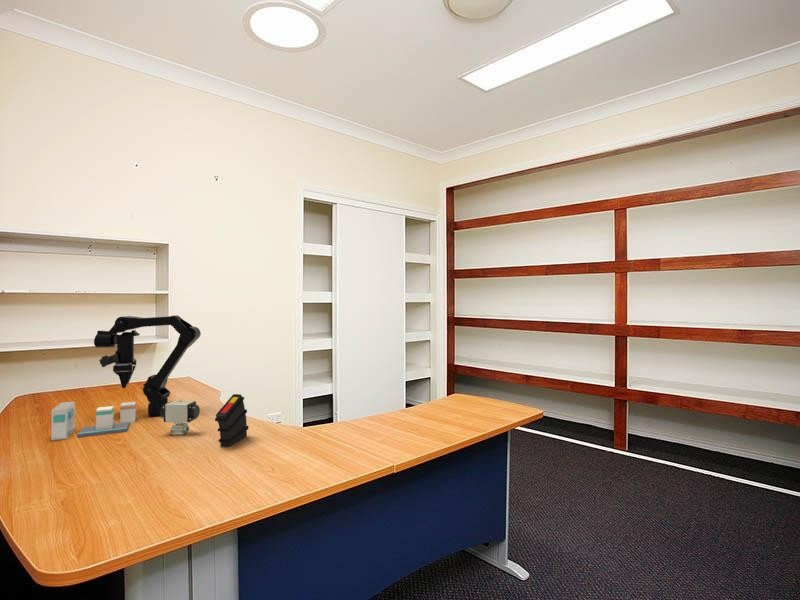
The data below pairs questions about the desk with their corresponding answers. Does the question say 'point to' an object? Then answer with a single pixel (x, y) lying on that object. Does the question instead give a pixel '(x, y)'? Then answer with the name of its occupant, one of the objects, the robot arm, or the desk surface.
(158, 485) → the desk surface
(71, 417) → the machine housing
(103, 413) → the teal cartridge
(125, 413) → the light grey boxy piece
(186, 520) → the desk surface
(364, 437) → the desk surface
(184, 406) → the pneumatic valve
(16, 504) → the desk surface
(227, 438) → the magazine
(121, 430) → the plate
